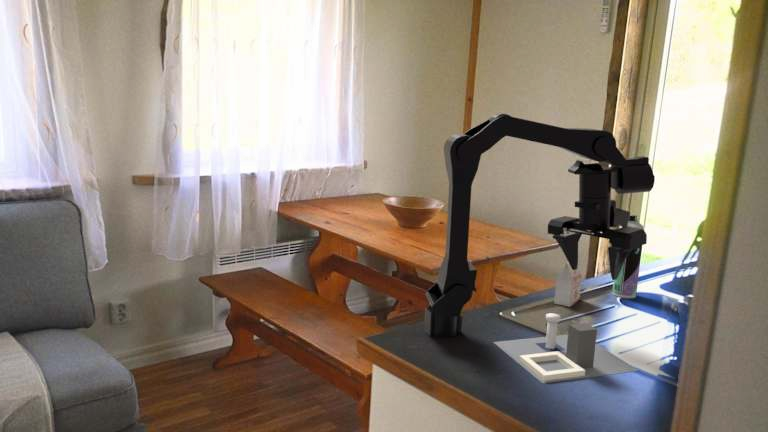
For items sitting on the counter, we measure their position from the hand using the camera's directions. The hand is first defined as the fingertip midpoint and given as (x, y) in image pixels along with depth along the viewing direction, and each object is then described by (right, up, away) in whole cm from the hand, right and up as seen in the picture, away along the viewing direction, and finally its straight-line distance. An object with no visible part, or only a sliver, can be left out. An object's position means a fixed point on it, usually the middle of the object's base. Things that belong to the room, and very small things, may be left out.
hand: (594, 274), depth 119 cm
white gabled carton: (+2, -9, +25) cm, 26 cm away
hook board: (-9, -15, -9) cm, 20 cm away
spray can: (+18, -8, +31) cm, 37 cm away
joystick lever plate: (-11, -15, -14) cm, 23 cm away
